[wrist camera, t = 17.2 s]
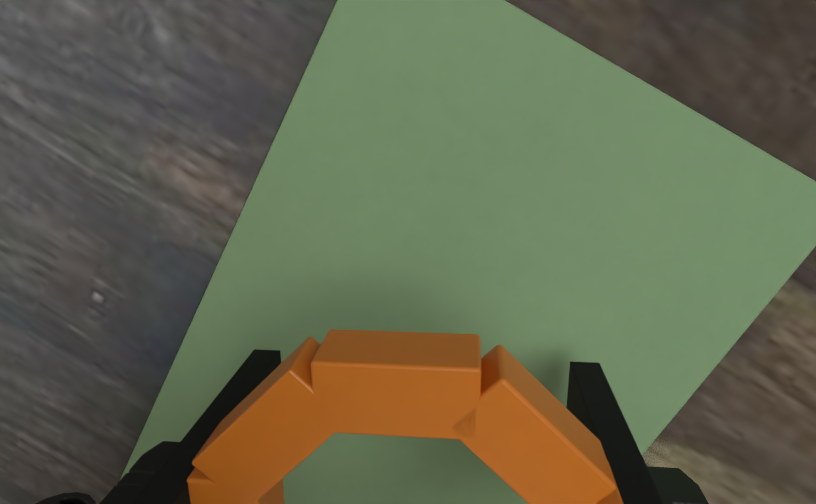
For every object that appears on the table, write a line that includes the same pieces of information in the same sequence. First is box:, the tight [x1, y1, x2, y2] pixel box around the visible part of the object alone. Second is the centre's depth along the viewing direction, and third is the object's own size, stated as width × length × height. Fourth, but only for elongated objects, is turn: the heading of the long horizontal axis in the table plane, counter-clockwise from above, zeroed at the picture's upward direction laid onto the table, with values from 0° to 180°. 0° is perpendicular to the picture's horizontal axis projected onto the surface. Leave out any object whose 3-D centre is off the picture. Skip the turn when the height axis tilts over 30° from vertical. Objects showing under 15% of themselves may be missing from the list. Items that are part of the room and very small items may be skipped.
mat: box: [120, 0, 816, 504], centre depth 17 cm, size 20×14×1 cm
